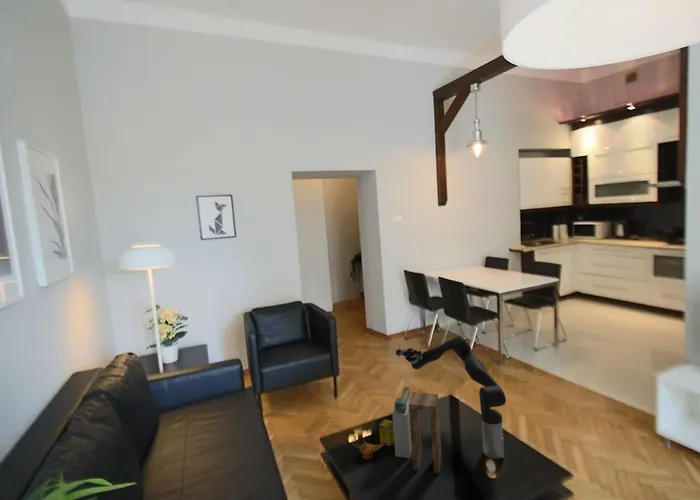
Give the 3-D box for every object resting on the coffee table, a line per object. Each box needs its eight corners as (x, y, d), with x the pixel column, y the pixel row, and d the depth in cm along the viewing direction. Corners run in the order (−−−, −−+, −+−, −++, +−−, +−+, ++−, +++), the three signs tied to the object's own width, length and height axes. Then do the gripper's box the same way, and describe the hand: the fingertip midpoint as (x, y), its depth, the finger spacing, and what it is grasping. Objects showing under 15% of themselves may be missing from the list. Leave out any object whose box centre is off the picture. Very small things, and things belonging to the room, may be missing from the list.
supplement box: (389, 447, 192) (388, 427, 191) (380, 444, 196) (378, 424, 195) (395, 441, 197) (394, 421, 196) (386, 438, 200) (384, 418, 199)
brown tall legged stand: (441, 457, 182) (437, 393, 179) (439, 473, 170) (435, 406, 168) (416, 453, 185) (412, 392, 183) (413, 469, 174) (408, 404, 171)
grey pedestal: (414, 440, 196) (411, 400, 194) (409, 458, 183) (406, 415, 181) (400, 439, 199) (398, 399, 197) (395, 456, 185) (392, 413, 183)
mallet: (412, 392, 203) (411, 383, 203) (405, 413, 182) (404, 403, 182) (402, 391, 205) (402, 383, 204) (394, 412, 184) (394, 402, 184)
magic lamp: (388, 460, 182) (387, 438, 181) (352, 460, 185) (350, 438, 184) (389, 451, 189) (387, 430, 188) (353, 451, 191) (352, 430, 190)
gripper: (400, 349, 225) (394, 343, 212) (423, 350, 221) (419, 344, 207) (399, 361, 222) (394, 357, 209) (423, 363, 218) (419, 358, 204)
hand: (406, 351), depth 208 cm, fingers open, 8 cm apart
